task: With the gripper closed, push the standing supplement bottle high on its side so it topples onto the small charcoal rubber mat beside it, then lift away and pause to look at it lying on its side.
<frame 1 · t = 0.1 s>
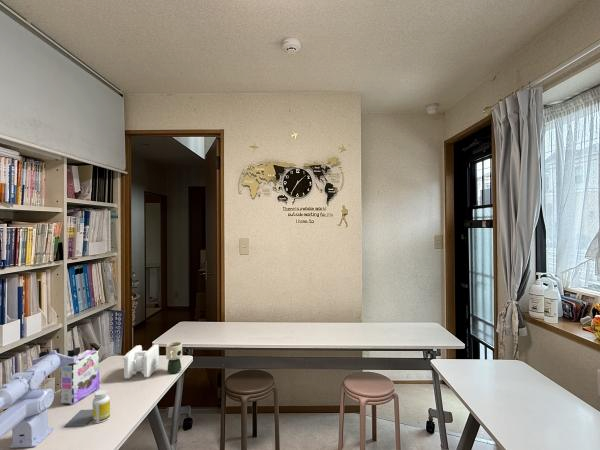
hand: (68, 350, 133), 22 cm above the table, tool horizontal, fingers open, 7 cm apart
candy box: (81, 396, 141), on the table
character mug: (174, 372, 163), on the table
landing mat: (82, 418, 125), on the table
cable organizer: (142, 374, 161), on the table
supplement bottle: (101, 419, 124), on the table
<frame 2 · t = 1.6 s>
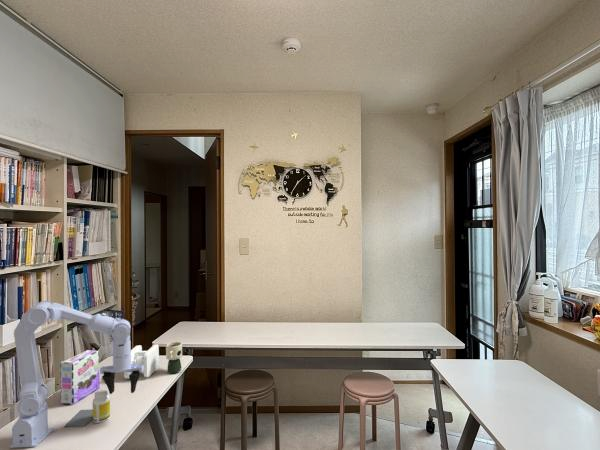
hand: (122, 392, 124), 9 cm above the table, tool pointing down, fingers open, 7 cm apart
nothing on the table moved.
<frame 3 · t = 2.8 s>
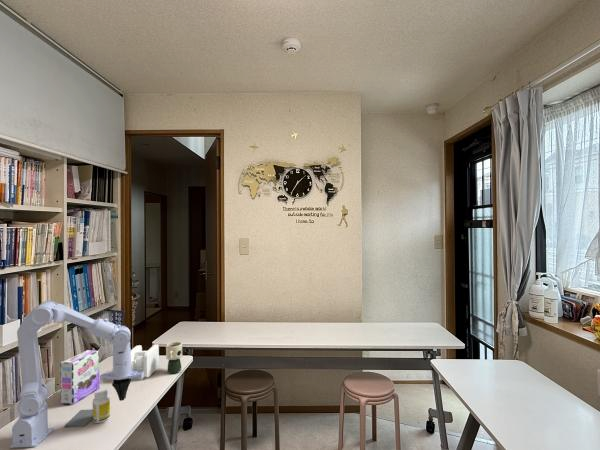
hand: (122, 399, 124), 7 cm above the table, tool pointing down, fingers closed
nothing on the table moved.
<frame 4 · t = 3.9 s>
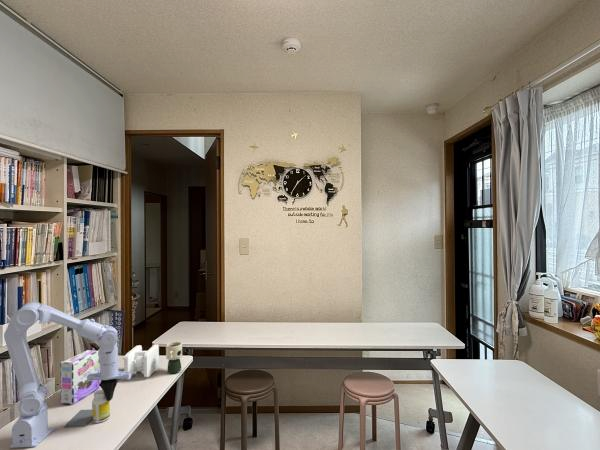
hand: (109, 399, 124), 7 cm above the table, tool pointing down, fingers closed, pressing on supplement bottle
supplement bottle: (101, 419, 124), on the table, touching gripper
everything else where it was.
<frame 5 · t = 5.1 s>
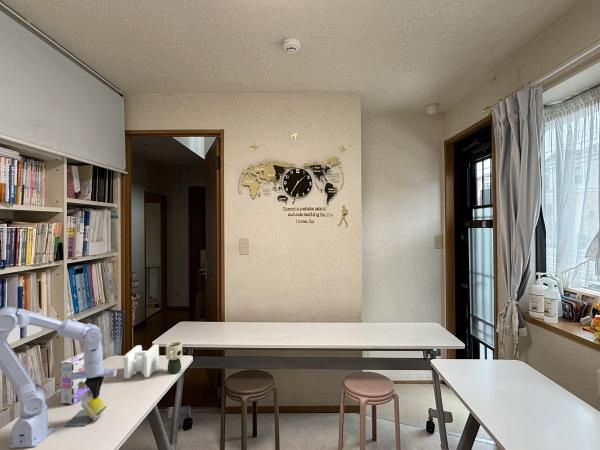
hand: (96, 396, 124), 8 cm above the table, tool pointing down, fingers closed, pressing on supplement bottle
supplement bottle: (101, 415, 124), point 1 cm above the table, touching gripper
everything else where it was.
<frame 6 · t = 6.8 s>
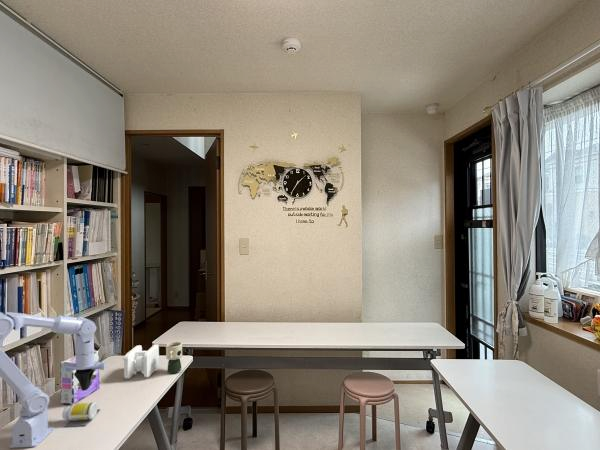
hand: (85, 389, 126), 10 cm above the table, tool pointing down, fingers closed
supplement bottle: (94, 410, 124), point 3 cm above the table, touching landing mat
everything else where it was.
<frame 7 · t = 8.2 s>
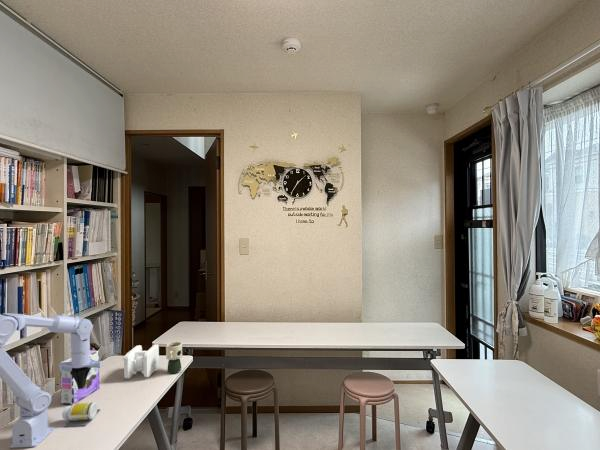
hand: (81, 387, 127), 10 cm above the table, tool pointing down, fingers closed
nothing on the table moved.
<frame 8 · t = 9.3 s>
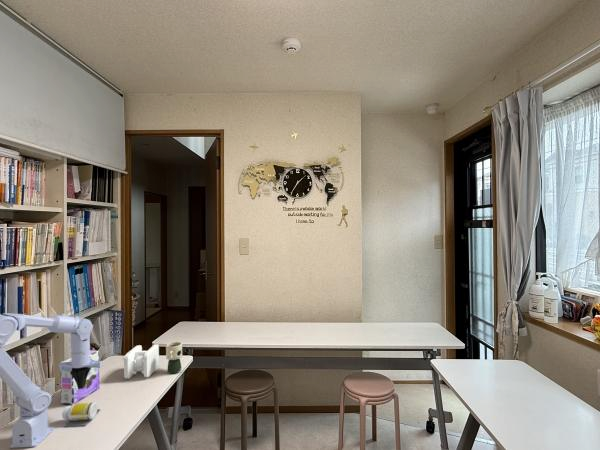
hand: (81, 387, 127), 10 cm above the table, tool pointing down, fingers closed
nothing on the table moved.
at the end: supplement bottle tilted 90°; supplement bottle touching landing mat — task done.
